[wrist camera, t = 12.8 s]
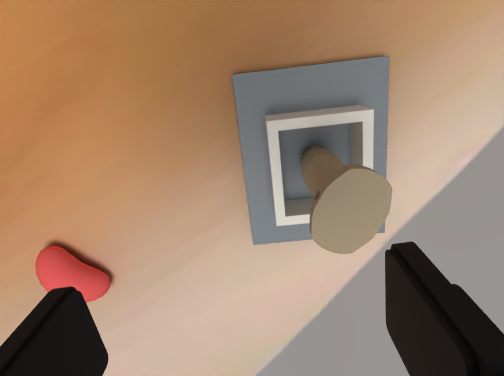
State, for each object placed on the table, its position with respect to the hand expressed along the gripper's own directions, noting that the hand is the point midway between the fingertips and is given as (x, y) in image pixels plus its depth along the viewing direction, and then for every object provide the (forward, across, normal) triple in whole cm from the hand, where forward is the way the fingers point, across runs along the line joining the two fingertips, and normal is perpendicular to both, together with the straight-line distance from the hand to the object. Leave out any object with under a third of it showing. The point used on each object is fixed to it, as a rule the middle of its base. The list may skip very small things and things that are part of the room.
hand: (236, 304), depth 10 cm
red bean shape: (+29, +25, +15) cm, 41 cm away
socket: (+29, -7, +5) cm, 30 cm away
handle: (+27, -7, +4) cm, 29 cm away
